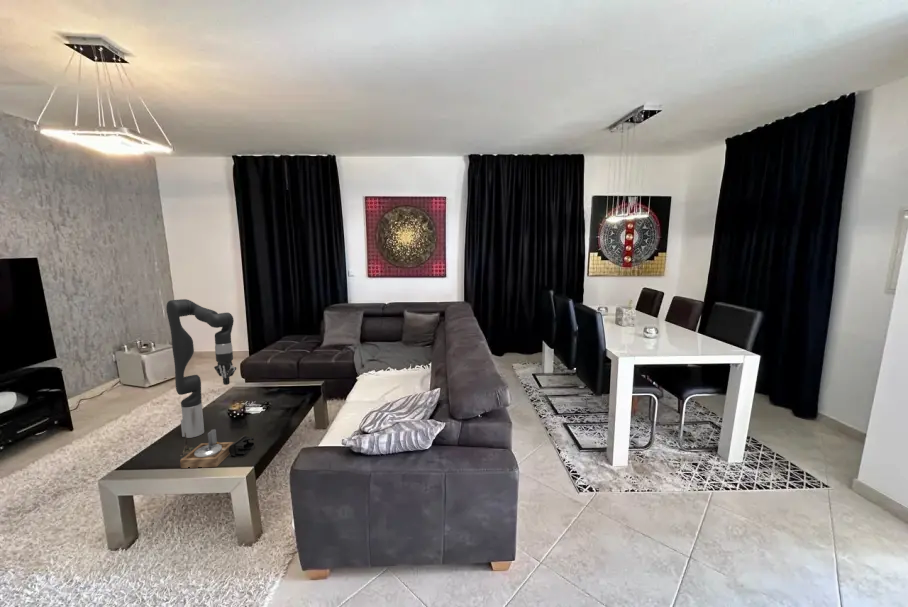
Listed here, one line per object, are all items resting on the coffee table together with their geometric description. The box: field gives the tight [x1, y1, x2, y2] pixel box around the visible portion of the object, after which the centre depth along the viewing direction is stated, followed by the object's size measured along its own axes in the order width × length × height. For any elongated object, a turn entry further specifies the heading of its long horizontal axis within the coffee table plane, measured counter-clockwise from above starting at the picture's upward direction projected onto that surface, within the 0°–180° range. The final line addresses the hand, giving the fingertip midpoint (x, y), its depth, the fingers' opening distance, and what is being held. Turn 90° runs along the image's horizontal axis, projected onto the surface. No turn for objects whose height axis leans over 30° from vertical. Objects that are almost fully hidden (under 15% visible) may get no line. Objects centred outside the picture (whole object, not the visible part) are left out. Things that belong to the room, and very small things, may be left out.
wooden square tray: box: [179, 441, 235, 469], centre depth 179 cm, size 16×16×4 cm
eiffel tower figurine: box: [180, 433, 196, 460], centre depth 181 cm, size 15×10×13 cm
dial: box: [194, 428, 222, 458], centre depth 179 cm, size 13×11×9 cm
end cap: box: [229, 434, 255, 458], centre depth 185 cm, size 10×7×7 cm
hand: (226, 384), depth 191 cm, fingers closed
